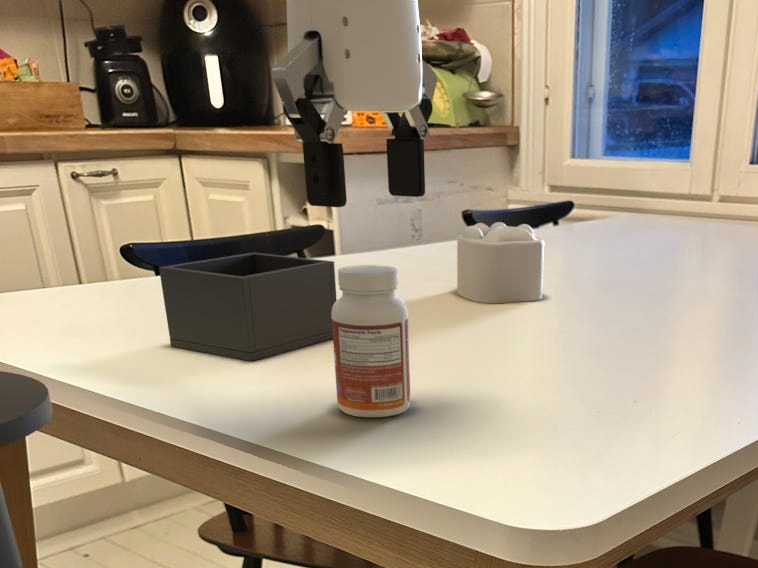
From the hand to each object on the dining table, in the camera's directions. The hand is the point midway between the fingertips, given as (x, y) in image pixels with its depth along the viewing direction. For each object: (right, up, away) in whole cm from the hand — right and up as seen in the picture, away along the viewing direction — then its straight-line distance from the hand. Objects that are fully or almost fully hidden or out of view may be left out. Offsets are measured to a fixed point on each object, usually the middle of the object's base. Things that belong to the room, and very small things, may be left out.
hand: (369, 200), depth 70 cm
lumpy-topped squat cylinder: (+11, +14, +56) cm, 59 cm away
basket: (-16, -1, +29) cm, 33 cm away
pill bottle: (-1, -14, +8) cm, 16 cm away
